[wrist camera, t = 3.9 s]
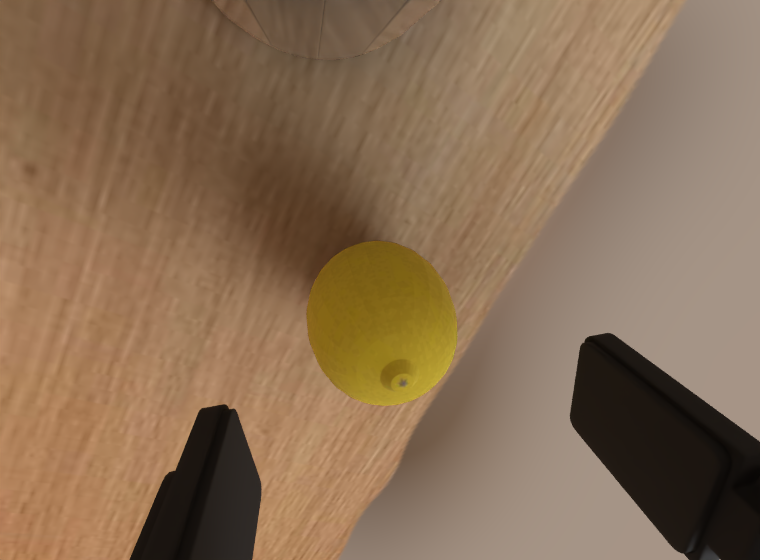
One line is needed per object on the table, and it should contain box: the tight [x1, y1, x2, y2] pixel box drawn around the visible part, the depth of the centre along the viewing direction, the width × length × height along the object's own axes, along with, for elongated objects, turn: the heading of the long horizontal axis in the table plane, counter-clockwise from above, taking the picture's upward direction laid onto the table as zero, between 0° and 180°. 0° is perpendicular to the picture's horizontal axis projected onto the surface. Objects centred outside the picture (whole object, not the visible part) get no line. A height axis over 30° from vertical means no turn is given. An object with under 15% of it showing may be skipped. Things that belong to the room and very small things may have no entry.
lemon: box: [306, 241, 457, 406], centre depth 14 cm, size 6×6×8 cm
